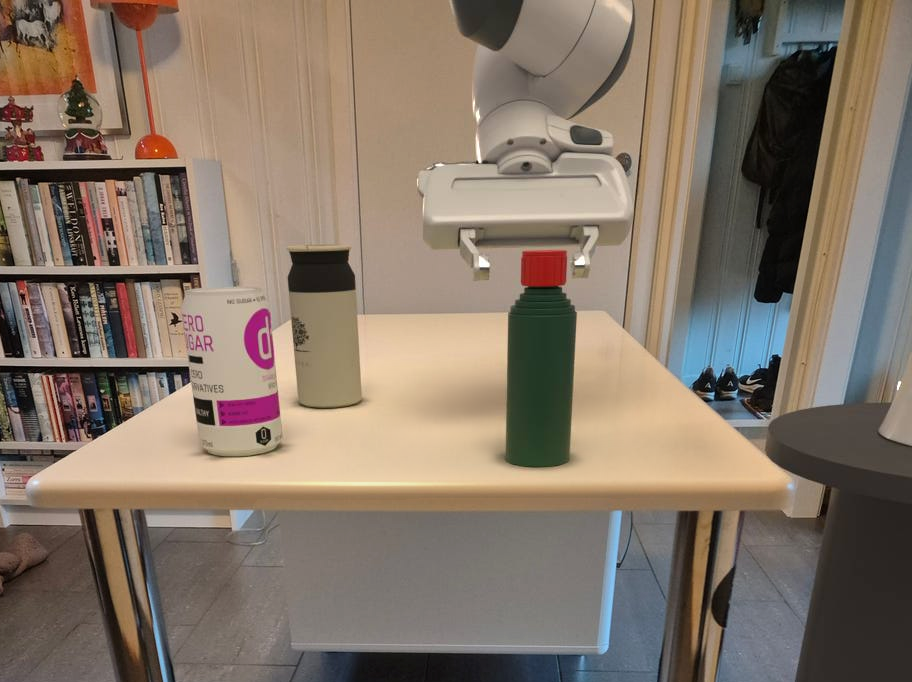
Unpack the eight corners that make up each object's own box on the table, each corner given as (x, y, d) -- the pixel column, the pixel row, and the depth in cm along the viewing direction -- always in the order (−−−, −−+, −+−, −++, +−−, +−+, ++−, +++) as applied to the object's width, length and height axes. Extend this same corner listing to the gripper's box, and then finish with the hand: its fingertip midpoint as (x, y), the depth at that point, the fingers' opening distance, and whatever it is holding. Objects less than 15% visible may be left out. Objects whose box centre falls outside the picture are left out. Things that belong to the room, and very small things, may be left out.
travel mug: (353, 394, 112) (344, 243, 104) (369, 405, 105) (360, 244, 97) (293, 399, 110) (279, 245, 102) (305, 411, 103) (291, 247, 95)
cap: (566, 283, 75) (568, 249, 74) (564, 286, 72) (566, 251, 71) (523, 283, 76) (524, 250, 75) (518, 287, 72) (519, 252, 71)
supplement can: (296, 440, 89) (282, 285, 82) (258, 460, 82) (239, 292, 75) (227, 436, 91) (208, 286, 85) (185, 455, 84) (160, 292, 78)
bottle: (570, 451, 83) (581, 253, 75) (567, 468, 77) (578, 257, 70) (509, 450, 84) (512, 255, 76) (502, 466, 78) (505, 258, 71)
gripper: (416, 136, 82) (421, 252, 77) (628, 132, 82) (645, 247, 78) (416, 190, 88) (421, 300, 83) (614, 186, 88) (629, 295, 84)
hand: (531, 275), depth 80 cm, fingers open, 8 cm apart
